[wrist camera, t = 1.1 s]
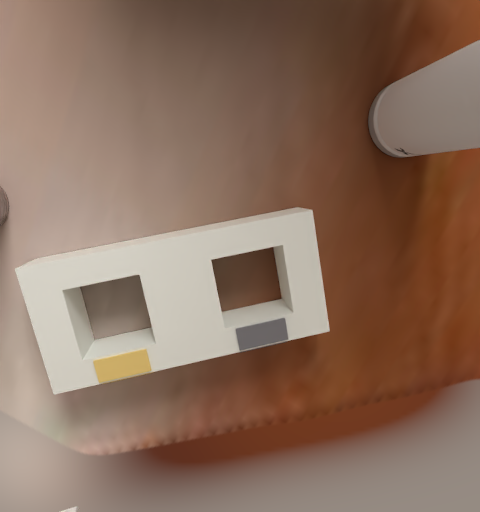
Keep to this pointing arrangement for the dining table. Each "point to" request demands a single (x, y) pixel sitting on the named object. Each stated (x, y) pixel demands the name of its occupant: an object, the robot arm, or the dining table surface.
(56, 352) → the socket board
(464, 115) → the travel mug
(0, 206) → the plug
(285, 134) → the dining table surface
